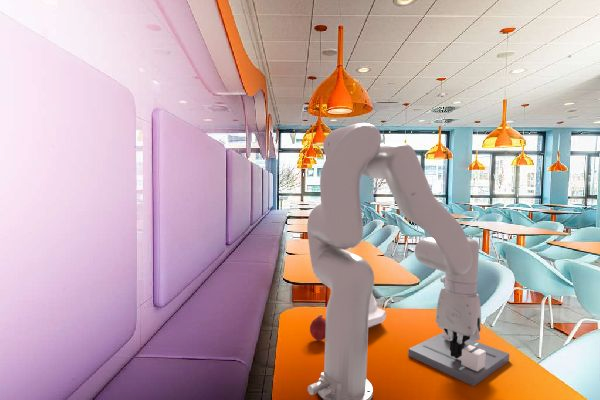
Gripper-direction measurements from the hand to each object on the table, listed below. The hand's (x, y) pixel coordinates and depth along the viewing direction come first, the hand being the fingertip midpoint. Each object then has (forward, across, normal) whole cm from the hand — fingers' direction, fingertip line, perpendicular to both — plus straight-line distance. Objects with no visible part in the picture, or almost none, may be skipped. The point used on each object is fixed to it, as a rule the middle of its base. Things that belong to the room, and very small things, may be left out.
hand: (456, 355), depth 94 cm
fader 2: (+1, +4, 0) cm, 4 cm away
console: (+3, -2, +5) cm, 6 cm away
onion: (+3, -32, -19) cm, 37 cm away
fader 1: (+1, -6, +10) cm, 12 cm away
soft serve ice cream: (+3, -31, 0) cm, 31 cm away
